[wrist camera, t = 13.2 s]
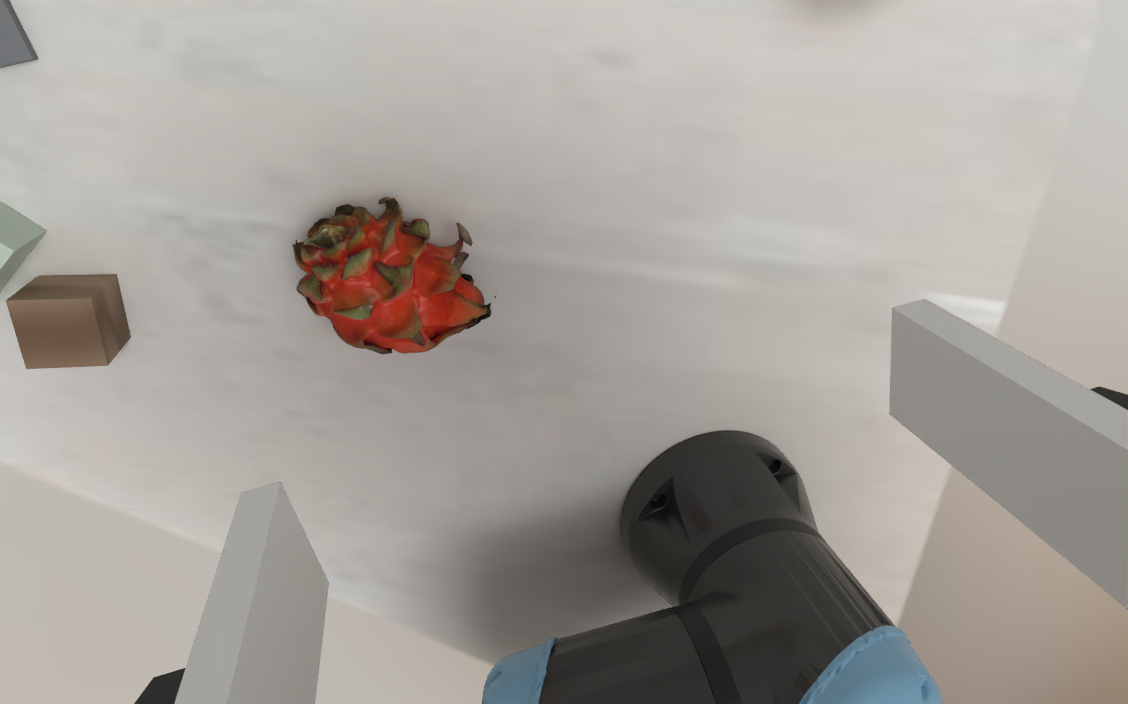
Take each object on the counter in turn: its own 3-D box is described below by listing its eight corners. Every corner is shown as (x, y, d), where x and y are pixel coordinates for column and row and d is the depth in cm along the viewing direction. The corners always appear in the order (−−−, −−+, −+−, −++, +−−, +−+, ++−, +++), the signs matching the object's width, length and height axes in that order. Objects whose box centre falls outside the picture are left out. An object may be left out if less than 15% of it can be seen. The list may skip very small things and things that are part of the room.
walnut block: (131, 336, 43) (107, 365, 40) (57, 339, 42) (26, 369, 39) (117, 273, 42) (91, 298, 38) (39, 275, 41) (5, 300, 37)
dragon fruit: (294, 198, 43) (468, 267, 49) (253, 331, 41) (440, 385, 47) (333, 150, 36) (531, 237, 42) (286, 307, 34) (501, 375, 40)
